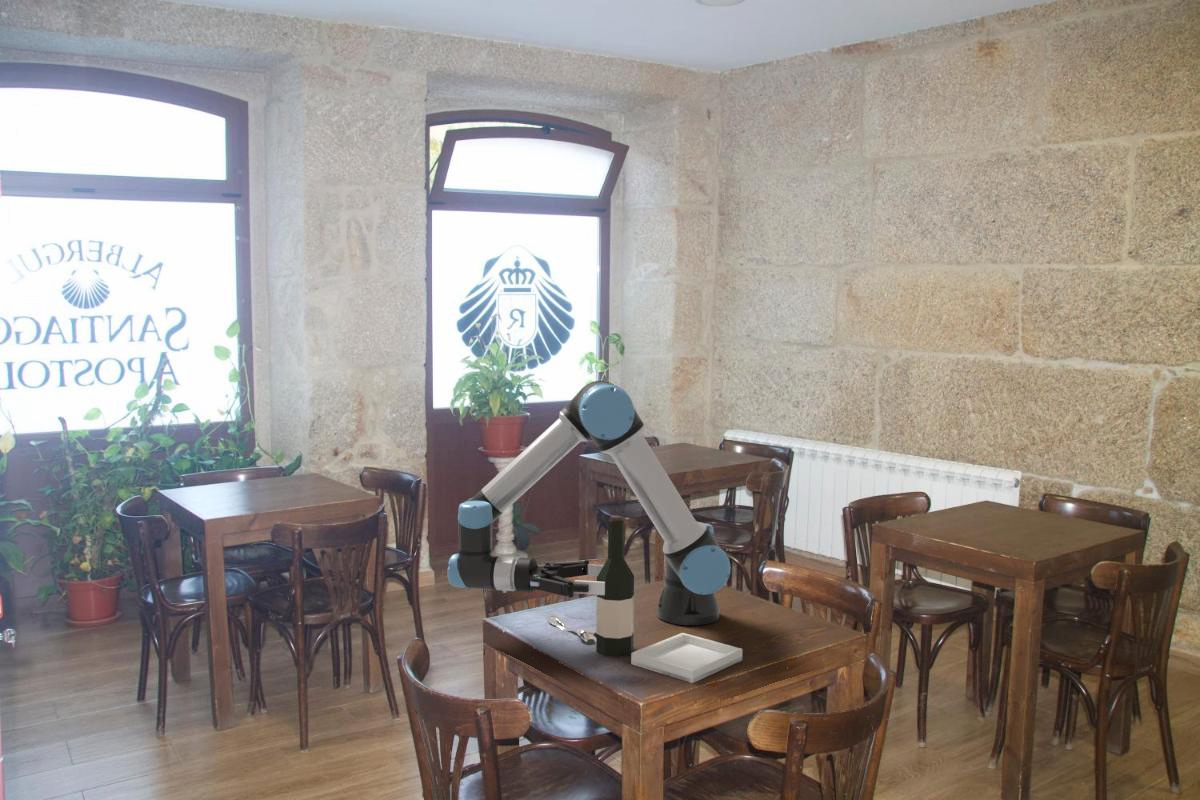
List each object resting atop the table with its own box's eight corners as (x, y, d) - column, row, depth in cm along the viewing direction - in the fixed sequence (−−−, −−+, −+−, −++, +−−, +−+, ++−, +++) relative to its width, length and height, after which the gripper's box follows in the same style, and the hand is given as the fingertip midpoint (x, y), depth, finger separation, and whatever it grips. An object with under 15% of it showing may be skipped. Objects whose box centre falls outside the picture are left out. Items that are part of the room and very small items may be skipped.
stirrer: (541, 607, 243) (558, 604, 245) (540, 621, 243) (557, 618, 246) (585, 635, 226) (603, 631, 229) (585, 650, 227) (602, 646, 229)
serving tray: (682, 643, 228) (682, 632, 228) (742, 660, 218) (742, 648, 217) (631, 664, 215) (631, 652, 215) (692, 683, 204) (692, 671, 204)
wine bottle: (588, 652, 222) (589, 517, 219) (609, 642, 229) (610, 511, 226) (620, 660, 217) (621, 522, 215) (641, 649, 224) (642, 515, 221)
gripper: (532, 576, 238) (620, 581, 234) (500, 607, 214) (599, 613, 210) (532, 544, 238) (621, 549, 233) (500, 572, 213) (599, 578, 209)
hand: (610, 580), depth 222 cm, fingers open, 13 cm apart
